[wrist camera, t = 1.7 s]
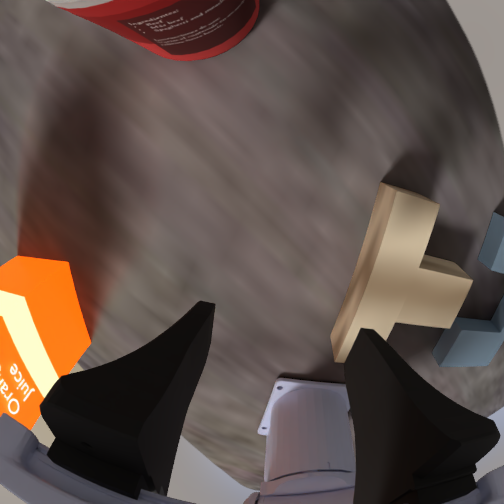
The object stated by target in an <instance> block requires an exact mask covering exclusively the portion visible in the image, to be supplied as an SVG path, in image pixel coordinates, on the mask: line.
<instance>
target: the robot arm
mask: <svg viewBox="0 0 504 504" xmlns="http://www.w3.org/2000/svg"><path fill="white" fill-rule="evenodd" d="M214 312H215V304H214V303H209V302H204V301H199V302H197V303H196V304H195V305H194V306H193V307H192V308H191V309H190V310H189V311H188V312H187V313H186V314H185V315H184V316H183V317H182V318H181V319H179V320H178V321H177V322H176V323H175V324H173V325H172V326H171V327H170V328H169V329H167V330H166V331H165V332H163V333H162V334H160V335H159V336H158V337H156V338H155V339H154V340H152V341H150V342H149V343H147V344H146V345H144V346H142V347H141V348H139V349H137V350H135V351H134V352H132V353H130V354H128V355H125V356H123V357H121V358H119V359H117V360H115V361H112V362H109V363H107V364H104V365H101V366H98V367H95V368H92V369H88V370H85V371H80V372H76V373H71V374H67V375H61V377H60V378H59V379H58V380H57V381H56V382H55V384H54V385H53V386H52V388H51V389H50V391H49V392H48V393H47V395H46V396H45V398H44V399H43V401H42V402H41V404H40V405H39V407H40V413H41V415H42V417H43V419H44V421H45V422H46V424H47V425H48V426H49V428H50V430H51V431H52V433H53V434H54V436H55V437H56V438H55V440H54V442H53V443H52V445H51V447H50V448H48V447H46V446H45V445H43V444H41V443H40V442H39V441H38V439H37V437H36V436H35V435H34V434H33V433H32V432H31V431H30V430H29V429H28V428H27V427H25V426H24V425H23V424H21V423H19V422H18V421H17V420H15V419H14V418H12V417H11V416H9V415H8V414H6V413H3V414H2V415H1V416H0V484H1V485H2V486H4V487H5V488H6V489H7V490H9V491H10V492H12V493H13V494H14V495H16V496H17V497H18V498H20V499H21V500H23V501H24V502H26V503H27V504H195V503H190V502H186V501H182V500H177V499H174V498H170V497H167V492H168V487H169V483H170V478H171V473H172V469H173V464H174V460H175V455H176V452H177V447H178V443H179V439H180V435H181V432H182V428H183V424H184V420H185V416H186V413H187V410H188V407H189V404H190V402H191V399H192V397H193V394H194V392H195V389H196V387H197V384H198V381H199V379H200V376H201V374H202V371H203V369H204V366H205V363H206V360H207V356H208V352H209V348H210V344H211V337H212V328H213V320H214ZM344 370H345V384H336V383H324V382H314V381H305V380H296V379H288V378H278V379H277V380H276V382H275V385H274V387H273V390H272V393H271V396H270V399H269V401H268V404H267V407H266V410H265V412H264V415H263V418H262V420H261V423H260V426H259V428H258V433H259V434H261V435H267V441H266V456H265V470H264V481H265V482H261V488H260V492H254V493H252V494H251V495H250V496H249V498H247V499H246V500H245V501H244V503H243V504H504V465H503V466H502V467H499V468H497V469H495V470H492V471H491V472H489V473H487V474H486V475H485V476H483V477H482V478H480V479H479V480H478V482H475V479H474V477H473V473H475V472H476V470H477V468H476V465H475V464H476V463H477V462H478V461H479V460H480V459H481V458H482V457H484V456H485V455H486V454H487V453H488V452H489V451H490V450H491V449H492V448H493V447H494V446H495V445H496V444H497V443H498V441H499V439H500V433H499V431H498V429H497V427H496V424H495V422H494V421H493V420H491V419H488V418H486V417H483V416H481V415H479V414H476V413H474V412H472V411H470V410H468V409H466V408H464V407H462V406H461V405H459V404H457V403H455V402H454V401H452V400H451V399H449V398H448V397H446V396H445V395H443V394H442V393H440V392H439V391H438V390H436V389H435V388H434V387H433V386H431V385H430V384H429V383H428V382H426V381H425V380H424V379H423V378H422V377H421V376H420V375H418V374H417V373H416V372H415V371H414V370H413V369H412V368H411V367H410V366H409V365H408V364H407V363H406V362H405V361H404V360H403V359H402V358H401V357H400V356H399V355H398V354H397V353H396V351H395V350H394V349H393V348H392V347H391V346H390V345H389V344H388V343H387V342H386V341H385V340H384V339H383V338H382V337H381V336H380V335H379V334H378V333H377V332H376V331H375V330H374V329H368V328H360V330H359V333H358V335H357V337H356V339H355V341H354V344H353V346H352V348H351V350H350V352H349V354H348V356H347V358H346V360H345V362H344ZM279 386H281V387H279ZM349 409H351V414H352V419H353V424H354V431H355V445H356V462H355V455H354V449H353V442H352V436H351V430H350V424H349V418H348V411H349Z"/></svg>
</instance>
